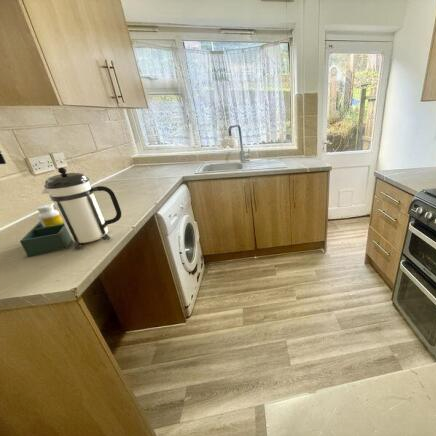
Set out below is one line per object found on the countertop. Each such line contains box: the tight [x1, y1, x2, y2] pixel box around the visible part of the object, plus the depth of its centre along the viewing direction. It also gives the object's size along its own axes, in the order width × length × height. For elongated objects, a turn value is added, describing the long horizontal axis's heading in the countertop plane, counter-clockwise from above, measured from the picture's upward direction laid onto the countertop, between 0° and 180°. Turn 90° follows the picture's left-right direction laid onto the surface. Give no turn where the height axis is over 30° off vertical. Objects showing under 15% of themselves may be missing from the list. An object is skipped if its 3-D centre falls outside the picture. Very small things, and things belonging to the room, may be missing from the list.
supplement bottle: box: [36, 204, 64, 227], centre depth 102 cm, size 7×7×13 cm
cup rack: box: [19, 221, 72, 257], centre depth 100 cm, size 11×21×6 cm, turn 29°
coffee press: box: [41, 167, 122, 250], centre depth 95 cm, size 17×16×30 cm
